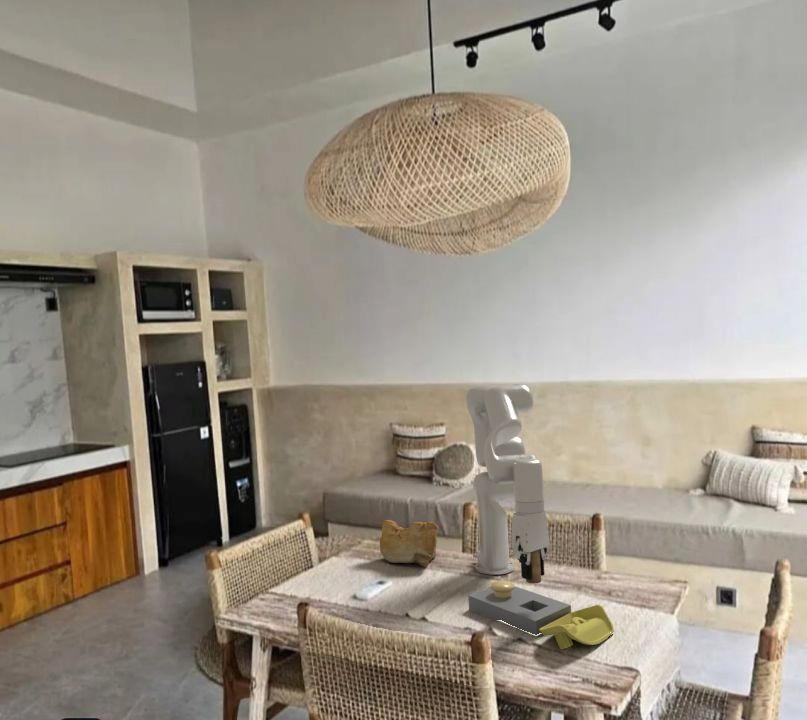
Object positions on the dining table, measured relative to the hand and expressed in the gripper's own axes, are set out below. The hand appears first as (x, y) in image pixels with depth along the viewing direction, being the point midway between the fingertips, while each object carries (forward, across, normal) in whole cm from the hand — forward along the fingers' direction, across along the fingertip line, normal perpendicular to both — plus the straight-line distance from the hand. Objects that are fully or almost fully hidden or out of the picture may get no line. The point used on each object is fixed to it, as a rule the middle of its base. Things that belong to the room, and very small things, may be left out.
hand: (533, 575), depth 175 cm
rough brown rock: (+11, -10, -61) cm, 63 cm away
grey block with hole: (+12, 0, -6) cm, 13 cm away
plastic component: (+13, +1, +13) cm, 18 cm away
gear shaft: (+1, 0, 0) cm, 1 cm away
